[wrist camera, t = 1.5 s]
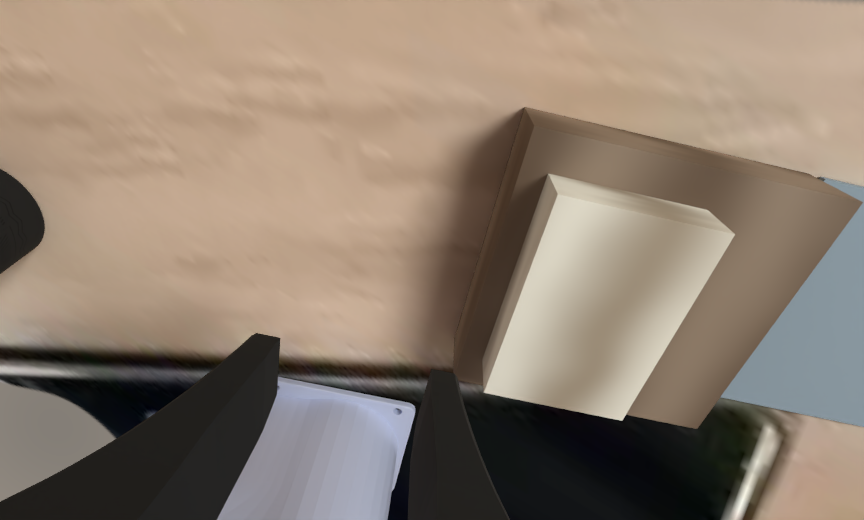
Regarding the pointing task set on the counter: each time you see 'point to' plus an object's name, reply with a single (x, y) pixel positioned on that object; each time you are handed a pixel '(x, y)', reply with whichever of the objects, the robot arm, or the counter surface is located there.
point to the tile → (598, 296)
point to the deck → (681, 183)
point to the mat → (816, 337)
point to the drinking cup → (17, 221)
